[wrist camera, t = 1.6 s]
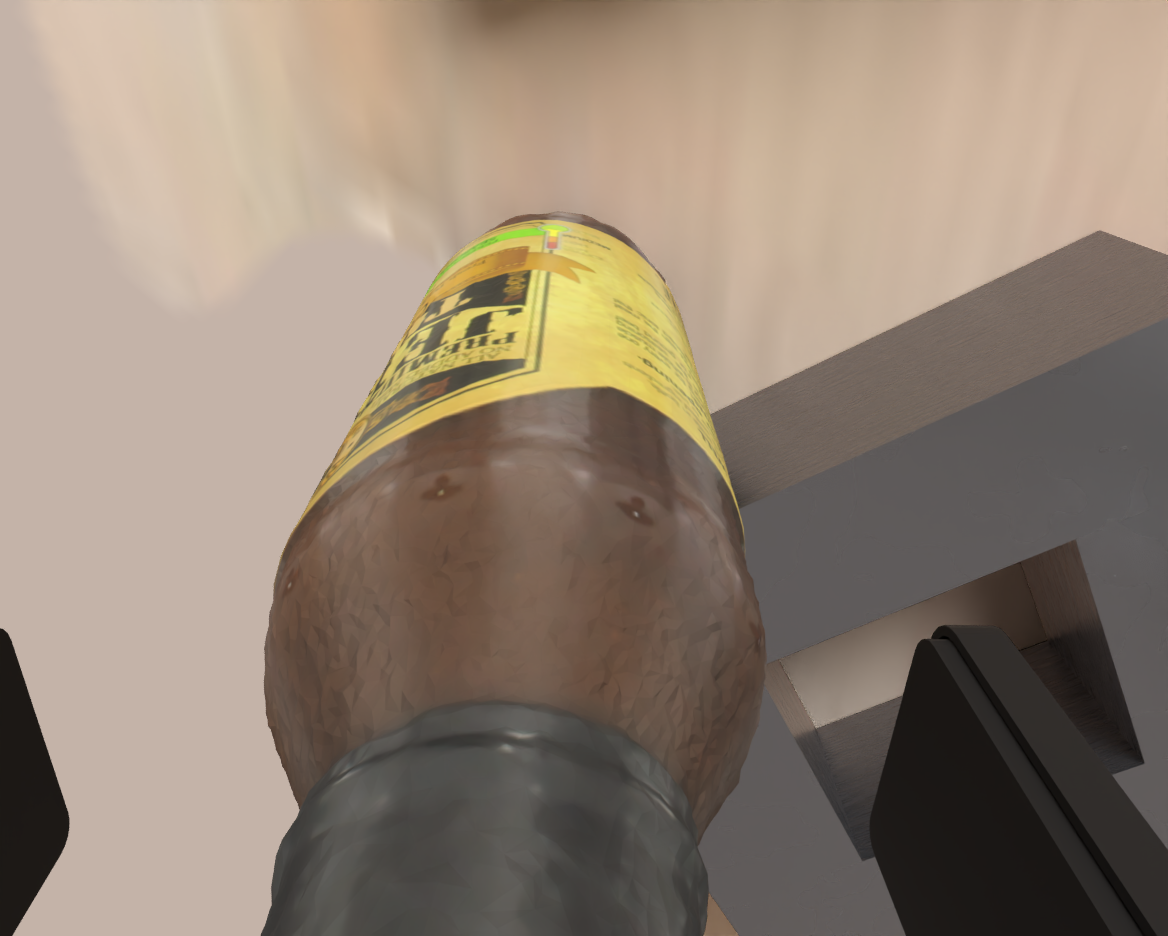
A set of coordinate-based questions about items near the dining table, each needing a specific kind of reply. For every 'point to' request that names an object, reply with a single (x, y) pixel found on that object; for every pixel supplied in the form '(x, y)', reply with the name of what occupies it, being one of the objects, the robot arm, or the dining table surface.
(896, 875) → the robot arm
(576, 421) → the sauce bottle
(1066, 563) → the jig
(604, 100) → the dining table surface
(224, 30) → the dining table surface
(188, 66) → the dining table surface
